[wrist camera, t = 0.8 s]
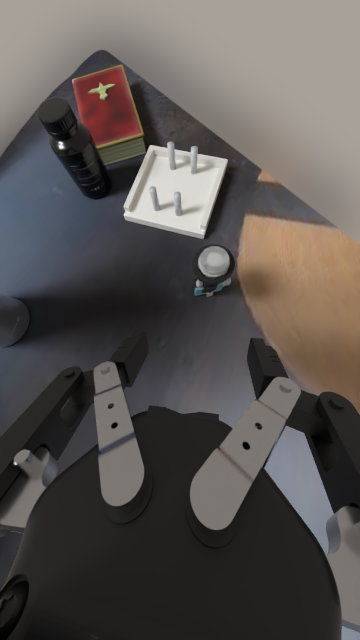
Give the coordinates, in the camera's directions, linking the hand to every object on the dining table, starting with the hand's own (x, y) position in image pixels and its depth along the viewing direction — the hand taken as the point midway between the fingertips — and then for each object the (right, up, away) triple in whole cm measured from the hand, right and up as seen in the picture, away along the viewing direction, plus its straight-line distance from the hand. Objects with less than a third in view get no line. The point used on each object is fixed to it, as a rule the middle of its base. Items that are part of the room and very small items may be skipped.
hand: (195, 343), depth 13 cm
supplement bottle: (-19, +30, +23) cm, 42 cm away
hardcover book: (-17, +46, +27) cm, 56 cm away
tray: (-2, +27, +22) cm, 35 cm away
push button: (+4, +7, +18) cm, 20 cm away
